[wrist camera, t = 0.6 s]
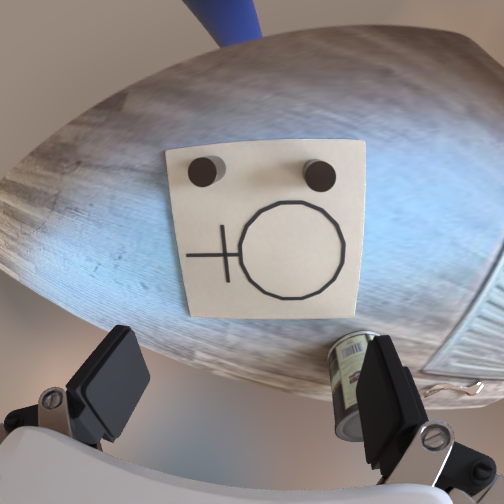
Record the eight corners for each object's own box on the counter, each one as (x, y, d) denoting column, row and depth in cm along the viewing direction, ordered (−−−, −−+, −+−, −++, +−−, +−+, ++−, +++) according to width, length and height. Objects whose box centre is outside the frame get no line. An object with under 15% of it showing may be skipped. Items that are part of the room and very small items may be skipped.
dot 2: (301, 159, 30) (304, 161, 26) (329, 159, 29) (336, 161, 25) (302, 186, 31) (305, 192, 27) (329, 186, 30) (336, 192, 26)
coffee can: (356, 382, 42) (367, 447, 29) (314, 361, 41) (318, 433, 28) (399, 346, 38) (424, 411, 25) (358, 319, 37) (380, 391, 24)
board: (166, 150, 32) (164, 150, 31) (363, 140, 28) (365, 140, 28) (191, 314, 40) (190, 317, 40) (353, 315, 37) (354, 318, 36)
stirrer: (422, 408, 39) (434, 394, 37) (416, 396, 42) (428, 381, 41) (478, 396, 39) (489, 383, 37) (473, 387, 42) (483, 373, 41)
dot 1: (199, 156, 31) (186, 158, 27) (225, 154, 30) (215, 155, 26) (201, 182, 32) (189, 188, 28) (227, 180, 32) (218, 186, 28)
